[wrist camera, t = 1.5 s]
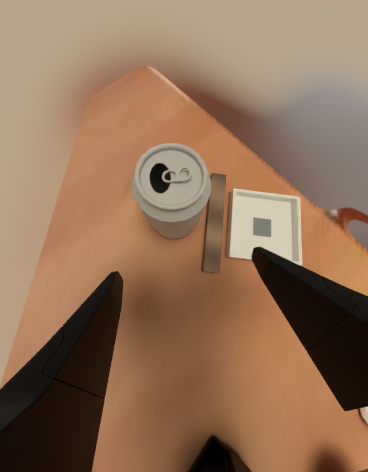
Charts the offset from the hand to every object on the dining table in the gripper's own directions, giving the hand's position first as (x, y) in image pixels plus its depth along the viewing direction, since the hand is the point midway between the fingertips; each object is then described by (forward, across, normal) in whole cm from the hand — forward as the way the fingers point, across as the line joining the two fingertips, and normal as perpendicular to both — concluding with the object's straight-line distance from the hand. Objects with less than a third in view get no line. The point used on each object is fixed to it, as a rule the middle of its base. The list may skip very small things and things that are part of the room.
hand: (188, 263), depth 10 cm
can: (+15, 0, +4) cm, 15 cm away
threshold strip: (+13, -6, +5) cm, 16 cm away
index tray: (+12, -14, +7) cm, 19 cm away
